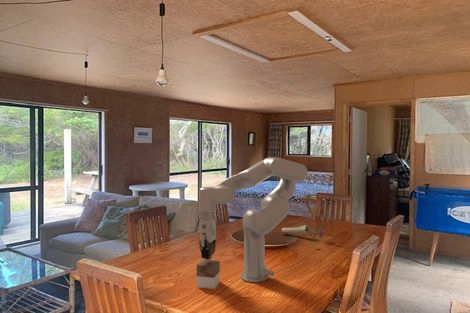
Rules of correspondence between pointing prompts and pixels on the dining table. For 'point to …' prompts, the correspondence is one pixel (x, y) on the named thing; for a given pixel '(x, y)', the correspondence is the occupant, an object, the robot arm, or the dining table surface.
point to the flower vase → (305, 230)
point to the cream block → (208, 281)
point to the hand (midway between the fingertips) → (207, 255)
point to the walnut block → (208, 268)
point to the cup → (210, 247)
